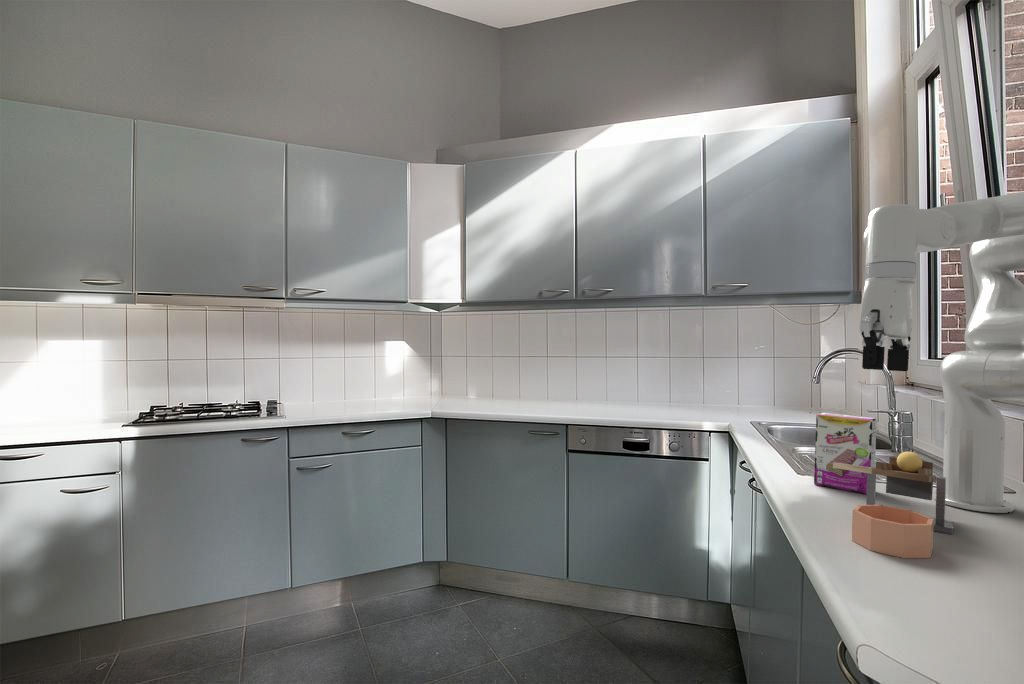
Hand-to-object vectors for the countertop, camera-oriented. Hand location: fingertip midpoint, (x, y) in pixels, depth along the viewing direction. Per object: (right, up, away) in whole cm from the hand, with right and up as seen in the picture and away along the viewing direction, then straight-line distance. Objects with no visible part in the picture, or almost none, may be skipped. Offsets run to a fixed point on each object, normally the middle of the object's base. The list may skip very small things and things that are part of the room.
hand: (885, 370), depth 98 cm
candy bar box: (+8, -28, +25) cm, 38 cm away
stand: (+5, -28, +2) cm, 28 cm away
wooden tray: (+2, -23, +4) cm, 24 cm away
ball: (+9, -18, +7) cm, 21 cm away
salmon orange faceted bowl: (-6, -28, -10) cm, 30 cm away
